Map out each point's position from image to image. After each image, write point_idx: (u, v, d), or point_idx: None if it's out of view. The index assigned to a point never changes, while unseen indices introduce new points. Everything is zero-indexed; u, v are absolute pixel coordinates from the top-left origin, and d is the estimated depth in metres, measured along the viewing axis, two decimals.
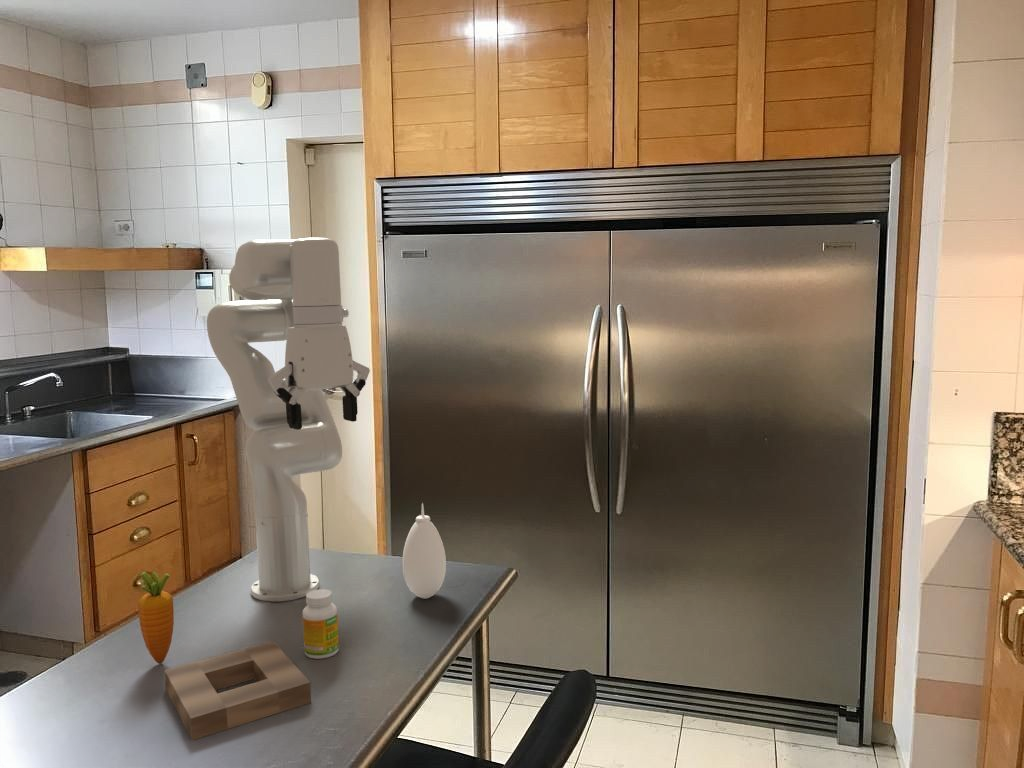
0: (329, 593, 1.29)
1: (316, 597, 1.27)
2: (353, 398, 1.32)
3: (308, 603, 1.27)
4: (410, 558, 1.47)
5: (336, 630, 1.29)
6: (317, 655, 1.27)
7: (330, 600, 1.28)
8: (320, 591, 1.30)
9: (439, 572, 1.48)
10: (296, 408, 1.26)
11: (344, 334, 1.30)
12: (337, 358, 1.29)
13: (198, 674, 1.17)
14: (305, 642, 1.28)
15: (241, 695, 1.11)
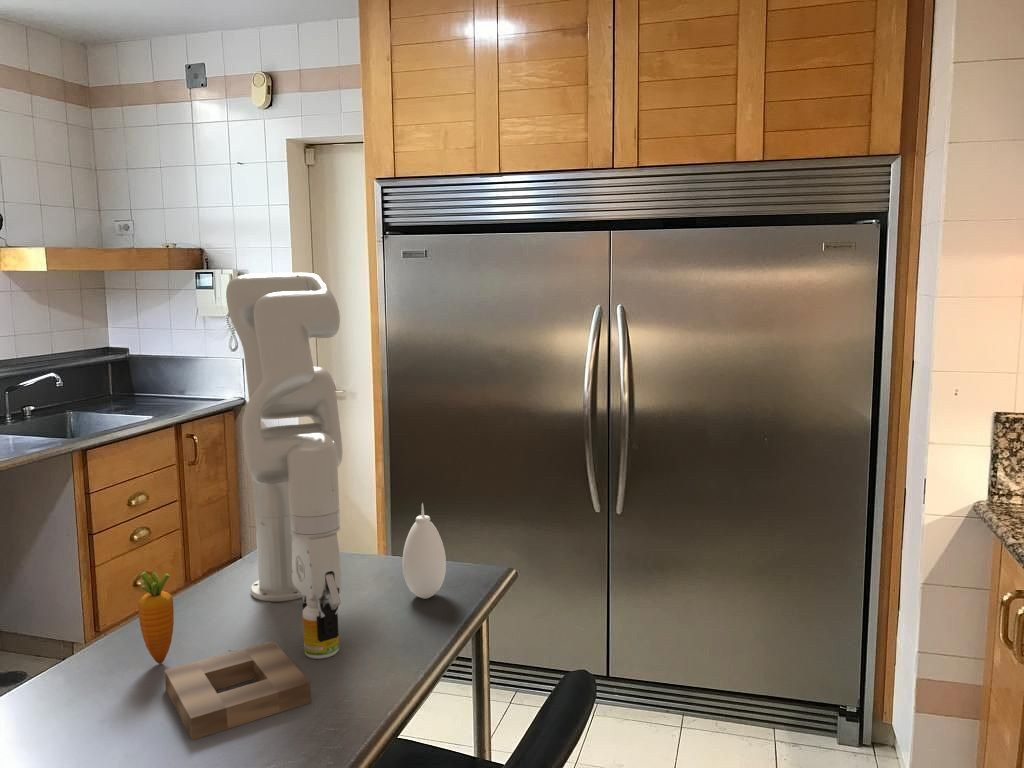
0: None
1: None
2: None
3: (308, 603, 1.27)
4: (410, 558, 1.47)
5: None
6: (317, 655, 1.27)
7: None
8: None
9: (439, 572, 1.48)
10: (336, 617, 1.27)
11: None
12: None
13: (198, 674, 1.17)
14: (305, 642, 1.28)
15: (241, 695, 1.11)
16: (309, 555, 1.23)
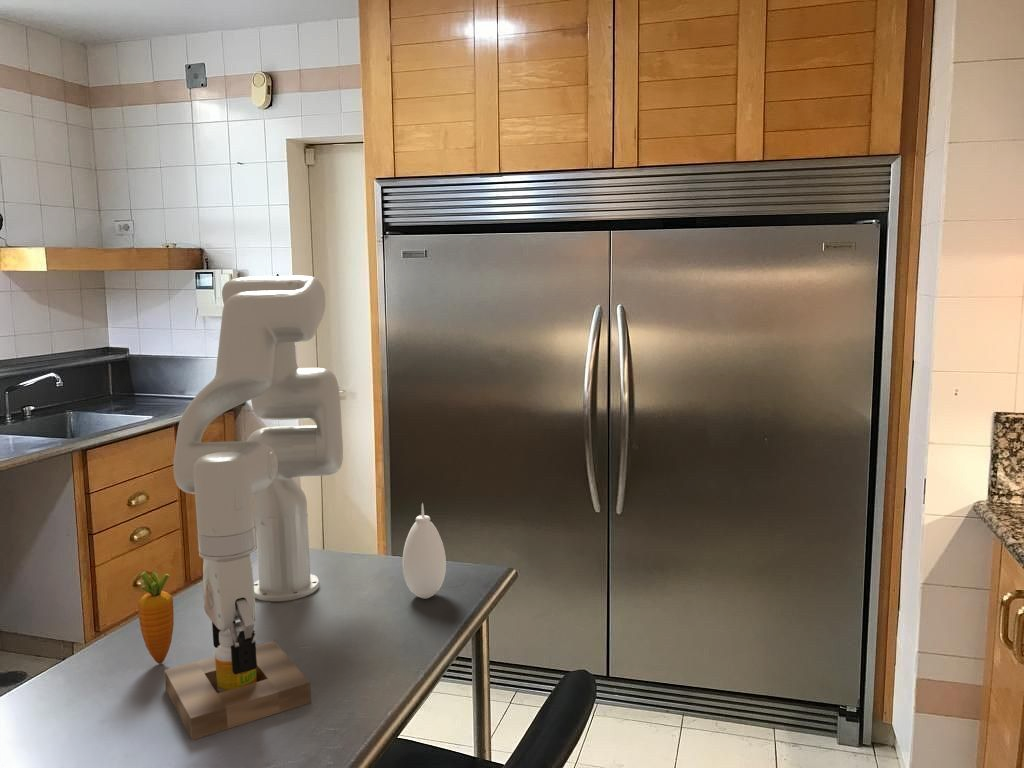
0: None
1: (229, 635, 1.14)
2: None
3: (220, 642, 1.14)
4: (410, 558, 1.47)
5: (253, 671, 1.16)
6: None
7: None
8: None
9: (439, 572, 1.48)
10: (254, 646, 1.12)
11: None
12: None
13: (198, 674, 1.17)
14: (218, 685, 1.15)
15: (241, 695, 1.11)
16: (217, 580, 1.10)
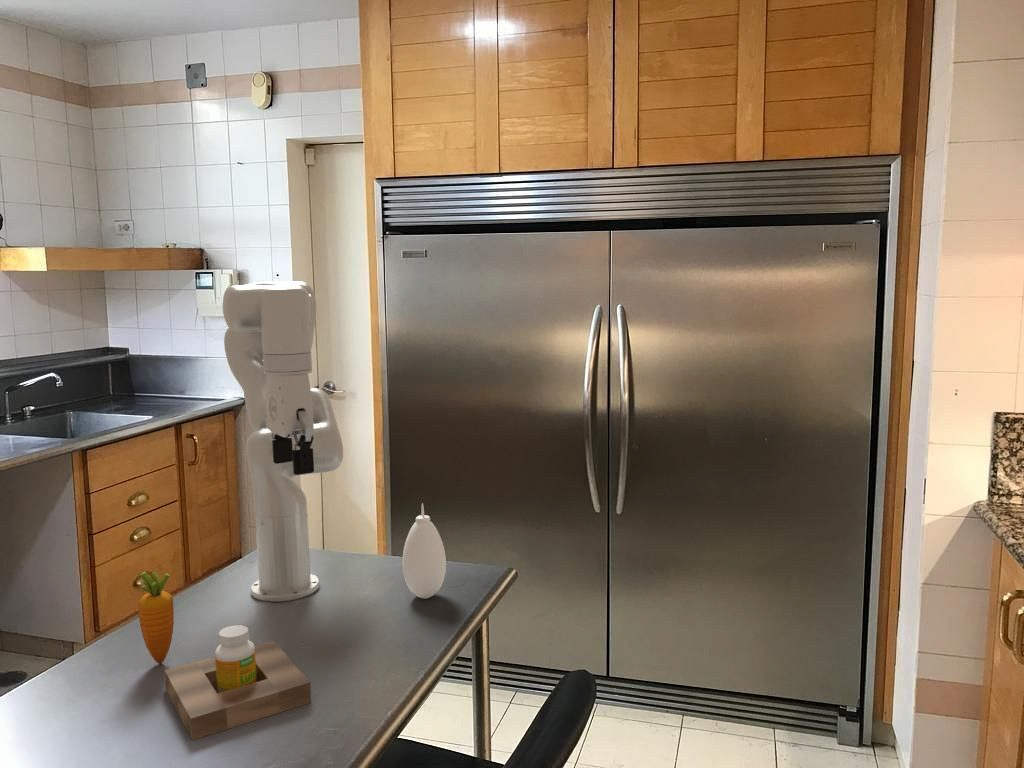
0: (245, 630, 1.16)
1: (229, 635, 1.14)
2: (291, 439, 1.38)
3: (221, 642, 1.14)
4: (410, 558, 1.47)
5: (253, 671, 1.16)
6: None
7: (246, 638, 1.15)
8: (236, 627, 1.17)
9: (439, 572, 1.48)
10: (312, 452, 1.30)
11: None
12: None
13: (198, 674, 1.17)
14: (218, 685, 1.15)
15: (241, 695, 1.11)
16: (281, 391, 1.27)
